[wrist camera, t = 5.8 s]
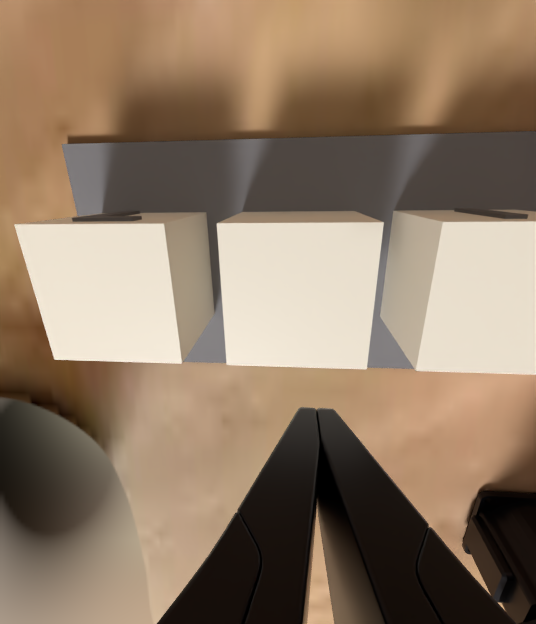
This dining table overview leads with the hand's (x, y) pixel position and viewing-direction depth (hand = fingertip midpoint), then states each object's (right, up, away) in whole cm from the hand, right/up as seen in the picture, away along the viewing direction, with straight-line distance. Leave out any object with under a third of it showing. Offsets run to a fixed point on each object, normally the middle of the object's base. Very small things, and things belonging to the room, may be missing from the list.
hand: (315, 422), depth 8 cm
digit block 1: (+8, +5, +10) cm, 14 cm away
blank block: (0, +5, +10) cm, 11 cm away
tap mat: (+1, +5, +11) cm, 12 cm away
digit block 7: (-7, +5, +11) cm, 14 cm away
